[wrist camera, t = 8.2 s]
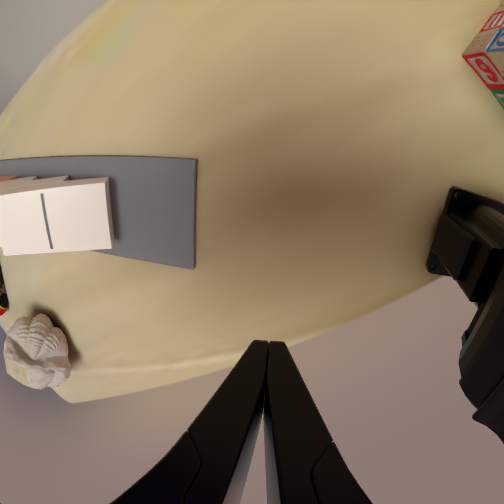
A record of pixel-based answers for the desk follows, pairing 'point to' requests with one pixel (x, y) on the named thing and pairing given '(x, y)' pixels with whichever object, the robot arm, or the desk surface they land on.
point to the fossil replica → (37, 353)
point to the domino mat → (134, 200)
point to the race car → (3, 297)
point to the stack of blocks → (489, 54)
